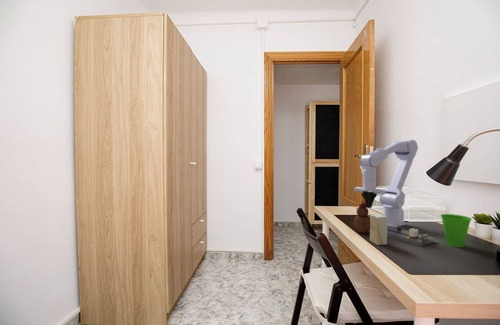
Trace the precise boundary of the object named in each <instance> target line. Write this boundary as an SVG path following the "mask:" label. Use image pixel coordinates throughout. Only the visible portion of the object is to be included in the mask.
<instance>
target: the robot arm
mask: <svg viewBox="0 0 500 325" xmlns="http://www.w3.org/2000/svg"><path fill="white" fill-rule="evenodd" d="M418 149H419V146H418V142H417V141H416V140H415V139H410V140H395V141H394V142H391V144H389V145H388V146H386V147H384V148H380V147H379V148H378V147H377V148H376V149H375V150H374V151H370V152H369V153H368V154H363V155H362V156H361V157H360V160H359V164H360V166H361V170H362V187H361V186H355V187H354V192H362V193H361V196H362V198H363V200H364V201H365V199H366V208H367V209H371V208H373V204H374V201H375V199H376V198H377V196H378V195H380V196H379V203H380V204H381V206H382V207H383V208H382V209H383V212H382V215H384V216H386V217H388V223H387V226H390V227H394V228H396V226H397V225H398V226H401V227H402V226H405V225H406V223H405V221H404V220H405V219H404V217H405V216H404V215H405V214H404V213H405V212H404V209H403V208H402V207H403V206H405V205H404V204H405V199H406V194H405V193H404V192H403V191H402V190H403V187H404V185H405V183H406V179H407V177H408V174H409V172H410V169H411V166H412V164H413V162H414V158H415V157H416V155H417V152H418ZM393 153H394V155H395V156H396V158H397V159H399V161H398V162H399V163H398V165H397V168H396V169H395V173H394V175H393V177H392V179H391V183H390V185H389V187H387V188H386V187H385V189H379V188H377V167H378V166H379V164H380V162H382V161H384V160H386V159H387V158H388V157H389V155H390V154H393Z"/></svg>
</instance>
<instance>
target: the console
mask: <svg viewBox="0 0 500 325" xmlns="http://www.w3.org/2000/svg"><path fill="white" fill-rule="evenodd" d="M387 238H391V239H395V240H397V241H398V240H399V241H402V242H405V243H408V244H411V245H414V246H418V247H424V246H427V245H430V244H432V243H435V241H436V239H435V237H431V236H429V234H428V233H424V234H420V233H418V236H417V237H411V236H409V230H404V229H402V225H401V226H398V225H397V226H396V227H392V226H388V225H387Z"/></svg>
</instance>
